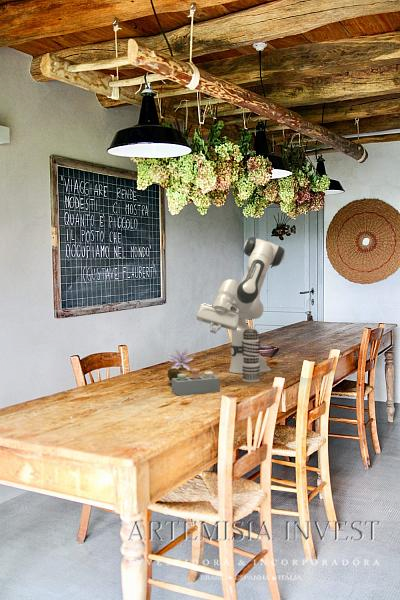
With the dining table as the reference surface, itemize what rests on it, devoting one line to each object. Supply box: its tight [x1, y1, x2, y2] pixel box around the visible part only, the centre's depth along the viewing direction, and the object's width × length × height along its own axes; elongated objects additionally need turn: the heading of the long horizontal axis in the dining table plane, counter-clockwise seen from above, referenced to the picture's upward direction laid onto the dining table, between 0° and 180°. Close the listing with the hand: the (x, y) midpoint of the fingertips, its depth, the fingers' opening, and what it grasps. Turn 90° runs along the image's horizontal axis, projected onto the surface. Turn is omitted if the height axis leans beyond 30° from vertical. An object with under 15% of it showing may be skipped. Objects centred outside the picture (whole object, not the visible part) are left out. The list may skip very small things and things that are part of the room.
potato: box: [167, 367, 183, 382], centre depth 298 cm, size 8×13×8 cm, turn 147°
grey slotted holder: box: [171, 374, 221, 396], centre depth 280 cm, size 20×9×6 cm, turn 111°
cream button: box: [203, 370, 214, 379], centre depth 282 cm, size 4×4×7 cm
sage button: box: [178, 373, 188, 381], centre depth 277 cm, size 4×4×7 cm
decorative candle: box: [242, 328, 261, 383], centre depth 303 cm, size 9×9×25 cm
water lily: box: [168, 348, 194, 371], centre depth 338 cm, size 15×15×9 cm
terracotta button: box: [190, 367, 201, 380], centre depth 279 cm, size 4×4×7 cm
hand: (213, 332), depth 290 cm, fingers closed
